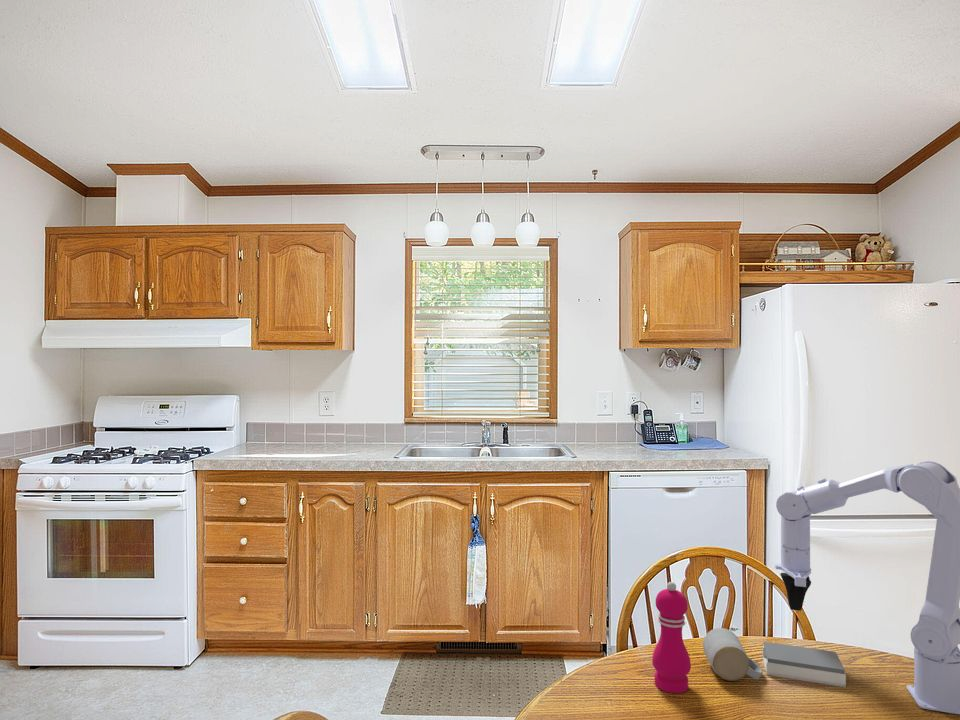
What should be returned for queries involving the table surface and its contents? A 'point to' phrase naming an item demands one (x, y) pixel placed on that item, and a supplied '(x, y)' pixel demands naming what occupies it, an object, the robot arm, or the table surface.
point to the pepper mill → (671, 642)
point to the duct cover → (803, 657)
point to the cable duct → (804, 673)
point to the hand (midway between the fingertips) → (795, 609)
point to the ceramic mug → (729, 656)
